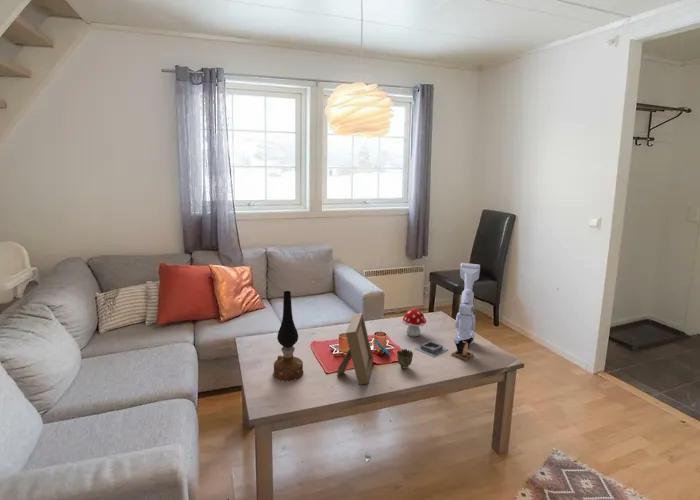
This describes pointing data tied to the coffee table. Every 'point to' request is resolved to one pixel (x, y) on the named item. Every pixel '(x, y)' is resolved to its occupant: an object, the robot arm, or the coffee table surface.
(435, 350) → the socket board
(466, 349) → the peg
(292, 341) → the oil lamp
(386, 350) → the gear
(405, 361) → the cup
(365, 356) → the photo frame
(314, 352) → the coffee table surface
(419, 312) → the decorative mushroom
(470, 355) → the holder
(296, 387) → the coffee table surface
